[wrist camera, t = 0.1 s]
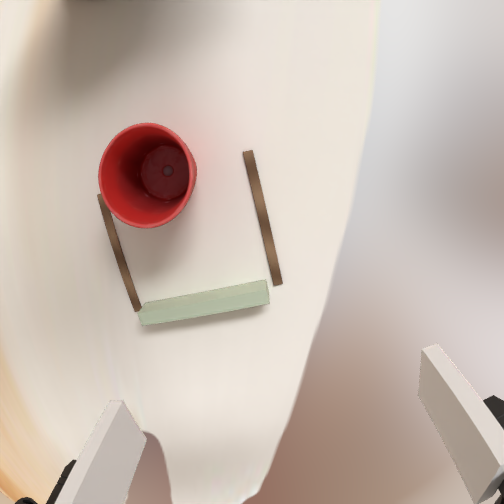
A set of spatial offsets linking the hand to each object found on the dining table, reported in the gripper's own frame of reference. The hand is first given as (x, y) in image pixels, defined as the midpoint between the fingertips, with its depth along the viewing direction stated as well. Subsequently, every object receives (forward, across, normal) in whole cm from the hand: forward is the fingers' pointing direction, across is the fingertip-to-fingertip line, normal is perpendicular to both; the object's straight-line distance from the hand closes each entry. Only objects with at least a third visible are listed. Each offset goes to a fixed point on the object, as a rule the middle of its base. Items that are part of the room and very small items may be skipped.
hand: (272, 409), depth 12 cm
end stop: (+31, -10, -7) cm, 33 cm away
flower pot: (+31, -10, +11) cm, 35 cm away
